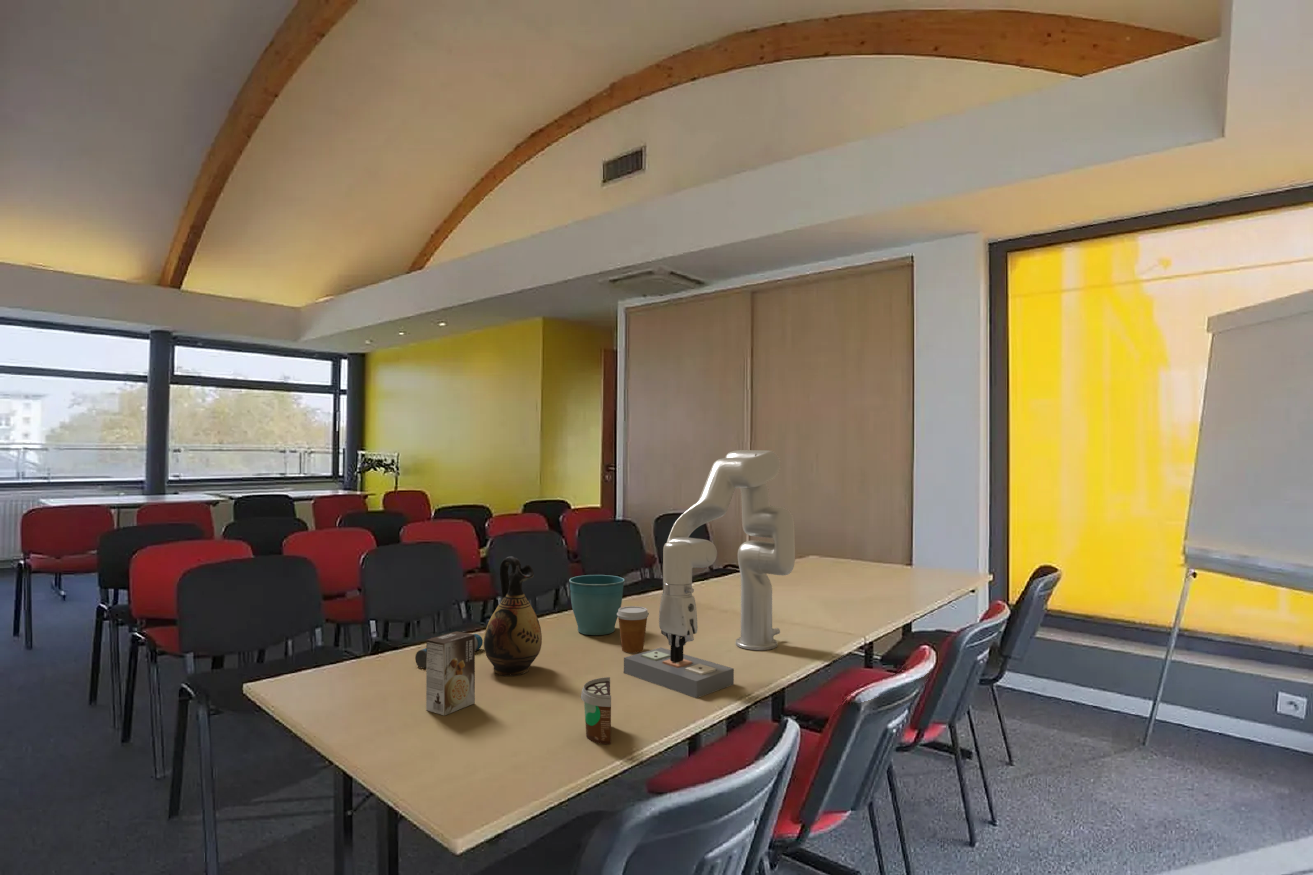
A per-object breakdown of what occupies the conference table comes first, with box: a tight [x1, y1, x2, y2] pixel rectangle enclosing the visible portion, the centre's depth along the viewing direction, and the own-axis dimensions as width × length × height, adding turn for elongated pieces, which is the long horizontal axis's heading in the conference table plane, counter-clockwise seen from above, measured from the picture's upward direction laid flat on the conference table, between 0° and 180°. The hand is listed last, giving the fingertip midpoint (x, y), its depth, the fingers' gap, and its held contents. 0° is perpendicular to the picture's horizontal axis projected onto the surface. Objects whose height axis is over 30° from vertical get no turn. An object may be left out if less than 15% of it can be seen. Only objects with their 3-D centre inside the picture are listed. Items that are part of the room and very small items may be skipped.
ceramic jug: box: [483, 555, 543, 677], centre depth 185 cm, size 17×15×30 cm
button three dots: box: [663, 659, 692, 668], centre depth 178 cm, size 5×5×4 cm
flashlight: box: [415, 633, 484, 669], centre depth 195 cm, size 5×22×5 cm, turn 150°
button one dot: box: [685, 664, 716, 675], centre depth 172 cm, size 5×5×4 cm
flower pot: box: [568, 574, 625, 636], centre depth 225 cm, size 18×18×17 cm
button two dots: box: [642, 651, 670, 661], centre depth 184 cm, size 5×5×4 cm
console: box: [623, 647, 735, 699], centre depth 178 cm, size 14×26×4 cm, turn 44°
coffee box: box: [425, 631, 476, 716], centre depth 157 cm, size 9×6×16 cm
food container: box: [580, 676, 612, 745], centre depth 142 cm, size 12×6×10 cm, turn 5°
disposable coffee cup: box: [617, 605, 650, 654], centre depth 204 cm, size 10×10×12 cm
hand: (676, 660), depth 178 cm, fingers closed
